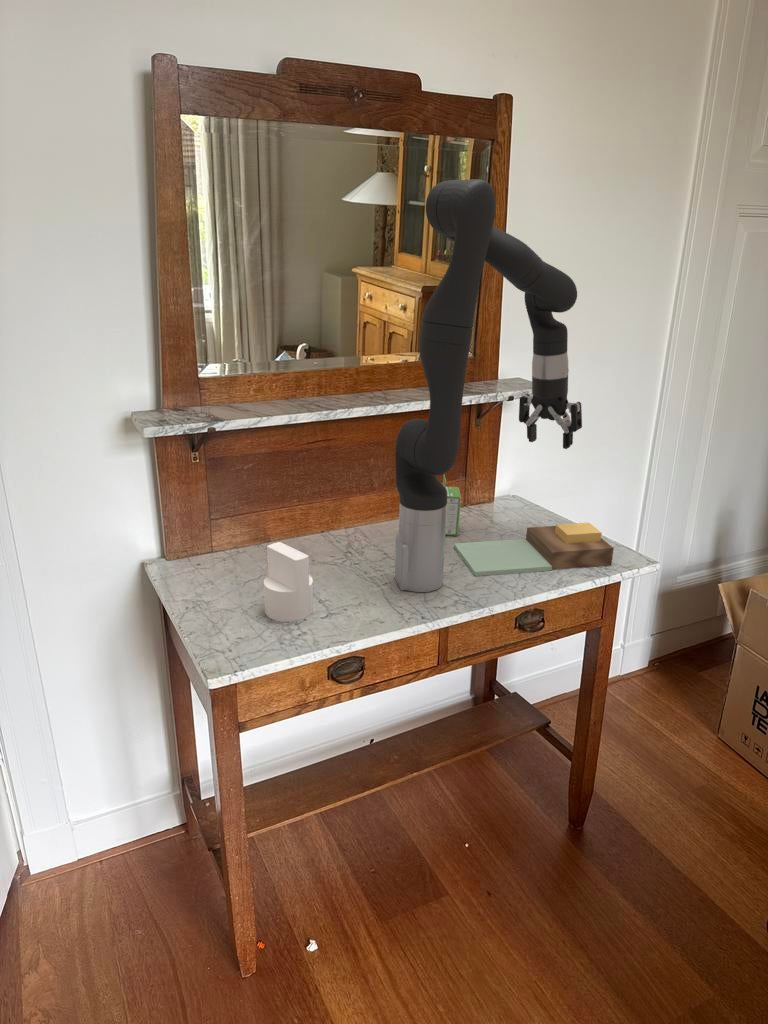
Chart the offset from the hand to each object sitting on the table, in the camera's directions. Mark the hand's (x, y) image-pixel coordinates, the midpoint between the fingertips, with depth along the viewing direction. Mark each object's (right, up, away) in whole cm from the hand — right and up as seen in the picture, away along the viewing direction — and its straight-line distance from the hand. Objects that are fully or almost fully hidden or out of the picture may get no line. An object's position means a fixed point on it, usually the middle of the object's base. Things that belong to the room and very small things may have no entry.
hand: (549, 444), depth 167 cm
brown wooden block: (+4, -24, +1) cm, 25 cm away
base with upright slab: (-54, -33, -26) cm, 69 cm away
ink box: (-21, -20, +12) cm, 31 cm away
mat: (-11, -25, -3) cm, 28 cm away
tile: (+6, -20, -1) cm, 21 cm away
